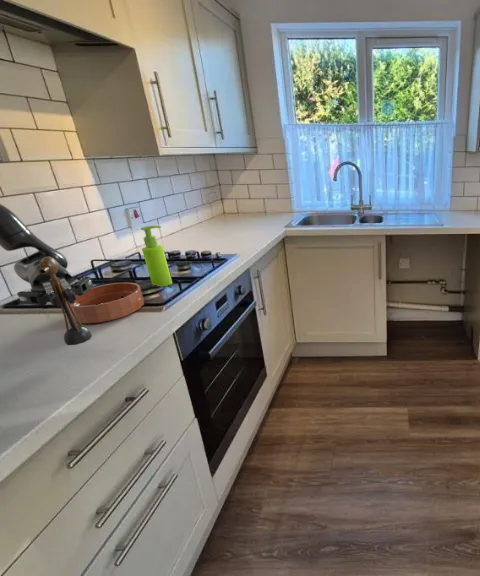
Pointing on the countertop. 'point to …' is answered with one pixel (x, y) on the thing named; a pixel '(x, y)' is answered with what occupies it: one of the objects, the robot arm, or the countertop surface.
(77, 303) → the bowl
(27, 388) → the countertop surface
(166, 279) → the soap dispenser
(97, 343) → the countertop surface
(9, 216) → the robot arm
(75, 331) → the wooden tabletop sculpture
